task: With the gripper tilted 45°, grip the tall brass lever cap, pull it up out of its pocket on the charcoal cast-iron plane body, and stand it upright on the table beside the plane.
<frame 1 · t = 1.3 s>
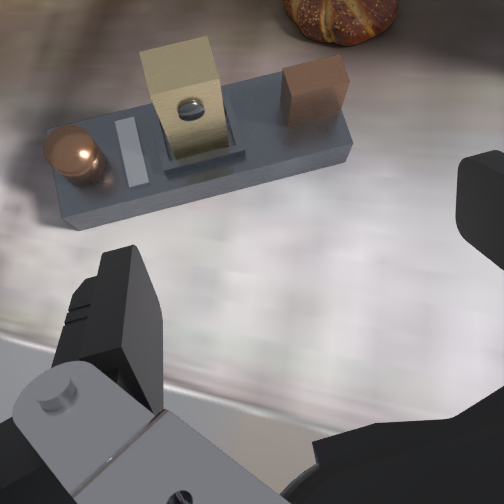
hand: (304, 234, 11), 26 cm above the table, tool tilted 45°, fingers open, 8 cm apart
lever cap: (198, 136, 36), point 3 cm above the table, touching plane body
plane body: (203, 155, 40), on the table
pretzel: (335, 4, 44), on the table
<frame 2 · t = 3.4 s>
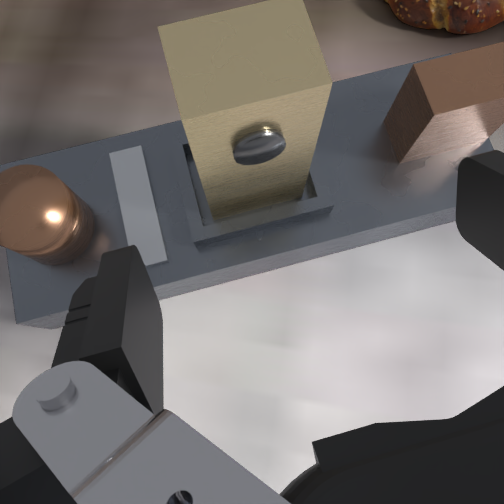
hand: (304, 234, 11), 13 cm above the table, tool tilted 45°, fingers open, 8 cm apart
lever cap: (249, 178, 22), point 3 cm above the table, touching plane body
plane body: (250, 203, 25), on the table
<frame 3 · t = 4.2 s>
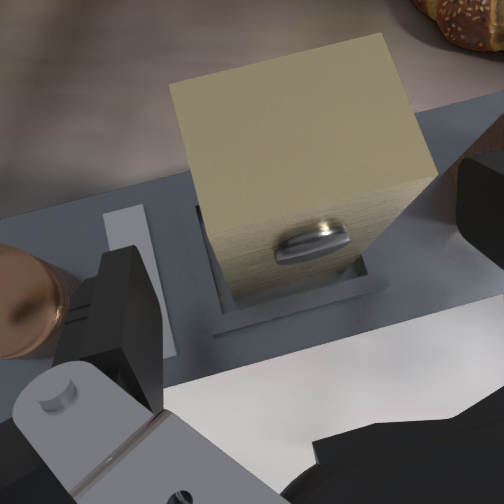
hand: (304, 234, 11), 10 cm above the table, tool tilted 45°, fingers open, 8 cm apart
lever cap: (278, 246, 17), point 3 cm above the table, touching plane body
plane body: (275, 265, 21), on the table
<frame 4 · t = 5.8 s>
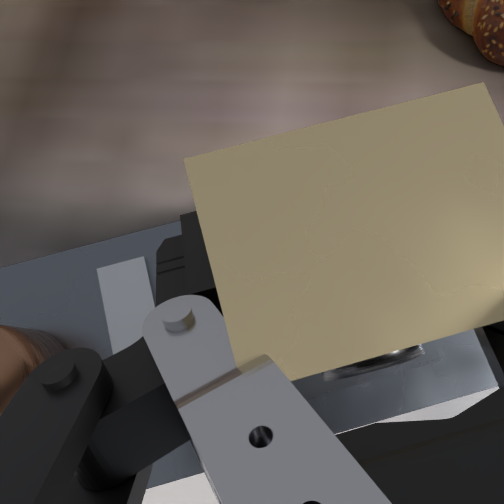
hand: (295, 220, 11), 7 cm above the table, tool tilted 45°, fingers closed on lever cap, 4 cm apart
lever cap: (304, 306, 15), point 4 cm above the table, touching gripper, plane body
plane body: (295, 316, 18), on the table
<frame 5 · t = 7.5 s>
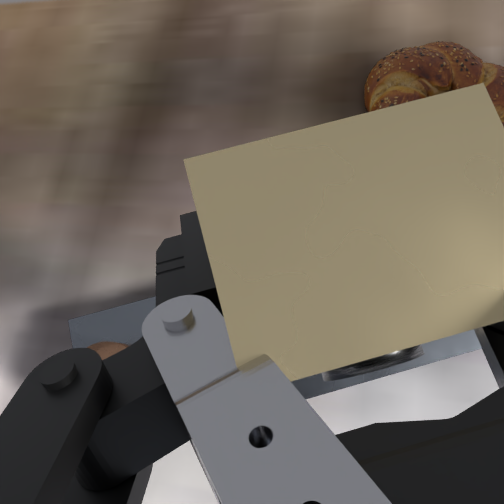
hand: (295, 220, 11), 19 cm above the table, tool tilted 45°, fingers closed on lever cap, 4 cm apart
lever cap: (304, 306, 15), point 15 cm above the table, touching gripper
plane body: (277, 335, 29), on the table
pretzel: (432, 123, 34), on the table
when the fingers open (5 cm above the table, at t = 11.9 s): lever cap drops 1 cm, on the table.
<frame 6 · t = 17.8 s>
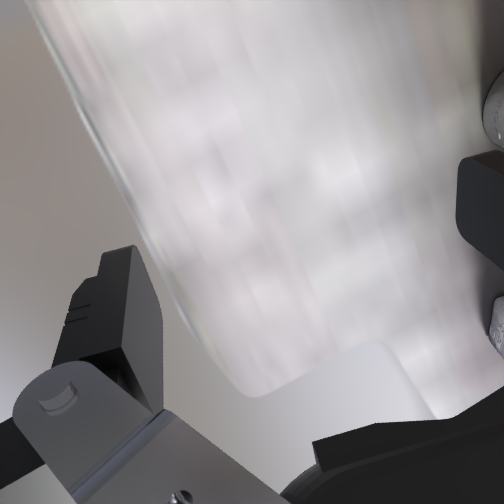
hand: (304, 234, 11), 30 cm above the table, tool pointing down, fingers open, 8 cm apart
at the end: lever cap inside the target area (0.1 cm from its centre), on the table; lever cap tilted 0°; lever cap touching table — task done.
